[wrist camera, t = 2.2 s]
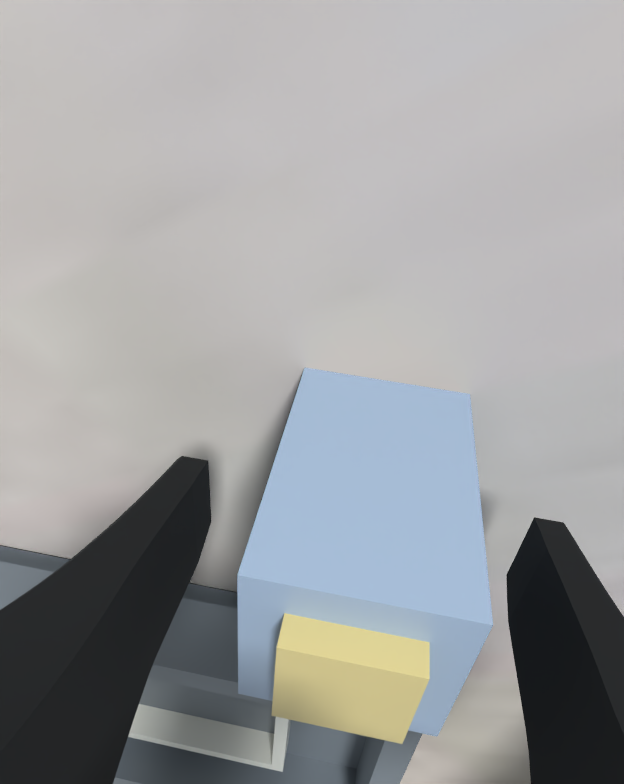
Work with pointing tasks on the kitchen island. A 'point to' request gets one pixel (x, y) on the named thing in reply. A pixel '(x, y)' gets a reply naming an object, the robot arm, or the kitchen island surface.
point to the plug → (366, 560)
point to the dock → (219, 707)
